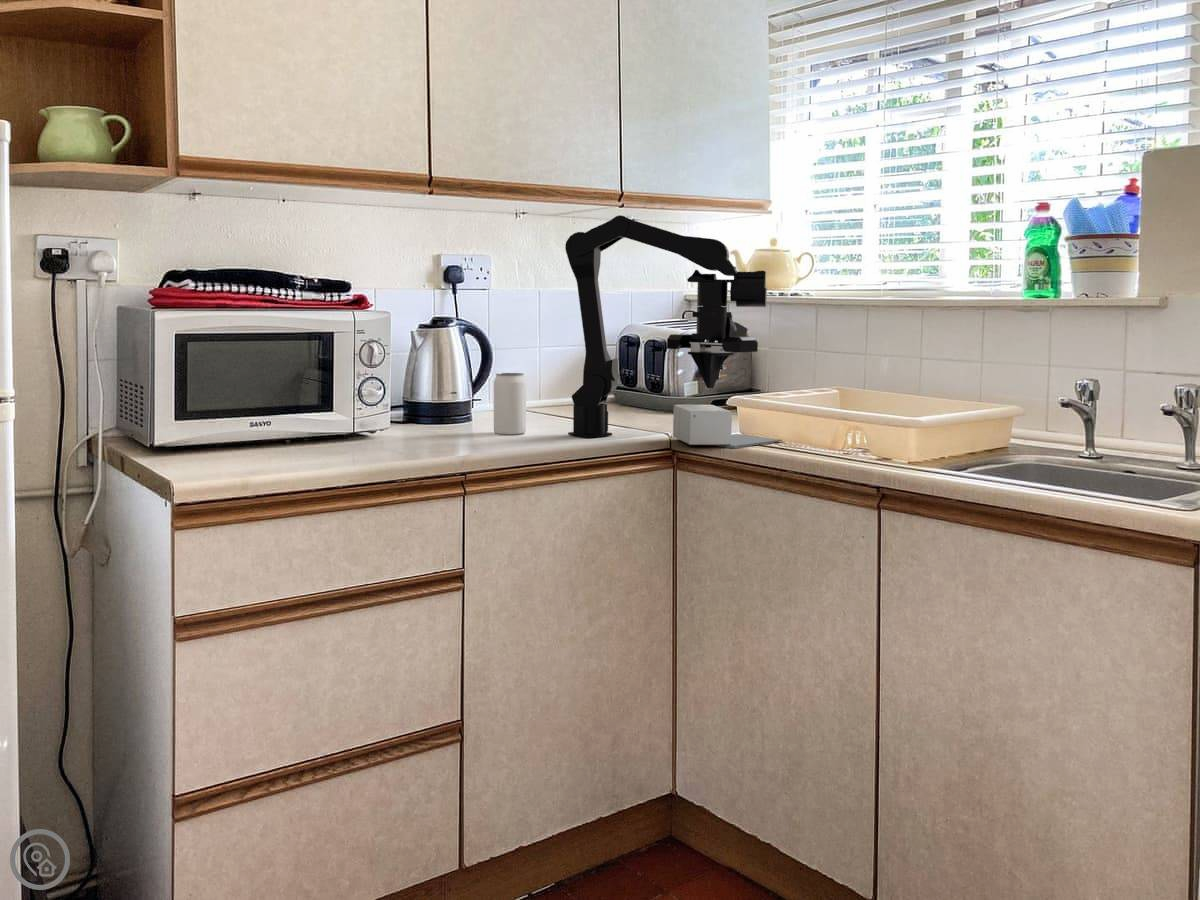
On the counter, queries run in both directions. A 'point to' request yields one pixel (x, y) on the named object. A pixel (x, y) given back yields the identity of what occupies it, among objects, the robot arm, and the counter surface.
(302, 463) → the counter surface
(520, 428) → the can
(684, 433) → the small box
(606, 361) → the robot arm
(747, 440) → the mat
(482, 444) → the counter surface
